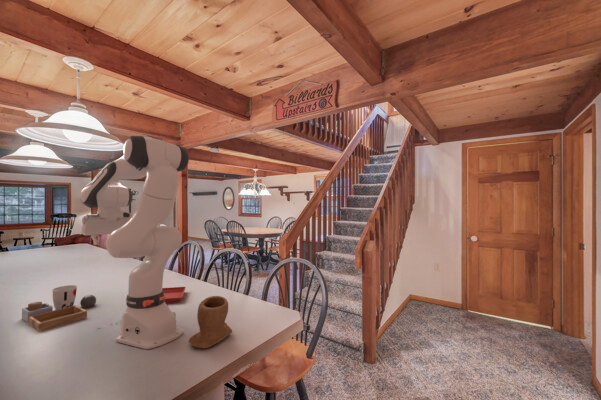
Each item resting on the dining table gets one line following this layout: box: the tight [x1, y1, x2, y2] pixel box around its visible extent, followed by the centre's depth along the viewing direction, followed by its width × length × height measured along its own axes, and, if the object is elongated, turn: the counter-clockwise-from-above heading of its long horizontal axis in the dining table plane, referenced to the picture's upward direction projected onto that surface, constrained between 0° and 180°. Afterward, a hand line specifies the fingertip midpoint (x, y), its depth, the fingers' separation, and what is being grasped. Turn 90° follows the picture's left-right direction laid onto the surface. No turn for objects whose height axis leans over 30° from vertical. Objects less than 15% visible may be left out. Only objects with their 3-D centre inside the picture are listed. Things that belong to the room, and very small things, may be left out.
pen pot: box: [21, 302, 54, 324], centre depth 107 cm, size 7×7×5 cm
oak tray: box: [27, 304, 88, 332], centre depth 105 cm, size 11×14×4 cm
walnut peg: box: [27, 301, 43, 311], centre depth 106 cm, size 4×4×6 cm
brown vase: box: [188, 295, 233, 349], centre depth 93 cm, size 15×12×15 cm
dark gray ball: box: [79, 294, 97, 309], centre depth 120 cm, size 6×6×6 cm
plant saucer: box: [162, 286, 187, 304], centre depth 134 cm, size 18×18×3 cm
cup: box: [51, 284, 78, 310], centre depth 117 cm, size 8×8×10 cm
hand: (108, 243), depth 124 cm, fingers open, 8 cm apart
